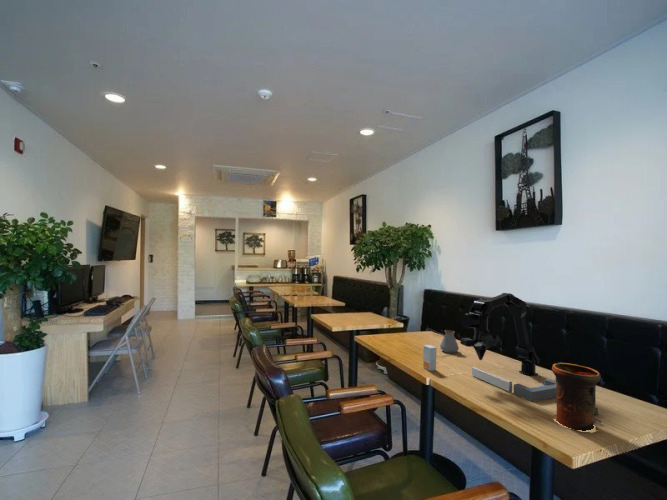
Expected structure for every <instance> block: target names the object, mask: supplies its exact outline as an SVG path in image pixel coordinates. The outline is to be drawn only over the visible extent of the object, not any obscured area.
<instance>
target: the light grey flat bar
mask: <svg viewBox="0 0 667 500" xmlns="http://www.w3.org/2000/svg"><path fill="white" fill-rule="evenodd" d="M471 376H472V377H475V378H477V379H479V380H482V381H484V382H486V383H489V384H491V385H493V386H494V387H495V386H496V387H498V388H499V389H502V390H504V391H506V392H509V393H513V381H509V380H506V379H503V378H501V377H498V376H497V375H494V374H491V373H488V372H486V371H483V370H482V369H479V368H476V367H475V366H472V367H471Z"/></svg>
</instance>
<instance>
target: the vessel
mask: <svg viewBox="0 0 667 500" xmlns="http://www.w3.org/2000/svg"><path fill="white" fill-rule="evenodd" d="M551 371H552V373H553V375H554V377H555V380H554V381H556V384H557V385H556V397H555V400H556V401H555V403H556V414H555V415H554V414H553V416H552V415H550V417H551V419H553V420H554V419H556V421H558V422H559V423H560V424H562V425H563V426H566V427H568V428H571V429H574V430H582V431H586V430H591V429H593V428H594V426H593V425H594V424H595V420H594V418H595V415H594V413H595V407H596V387H597V384H599V382H600V381H601V378H602V377H601V374H600V372H599V371H598V370H596V369H594V368H591V367H587V366H583V365H578V364H575V363H574V364H573V363H567V362H557V363H554V364H552V367H551ZM571 429H570V430H571ZM574 430H573V431H574Z"/></svg>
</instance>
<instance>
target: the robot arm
mask: <svg viewBox="0 0 667 500" xmlns="http://www.w3.org/2000/svg"><path fill="white" fill-rule="evenodd" d="M502 305H505V306H506V308H507V310H508V312H509V313H510V315H511V316H512V317H513V321H514V326H515V332H516V335H517V340H518V341H517V342H518V344H517V346H515V354H516V355H517V359H518V361H521V367H520V370H519V371H518V372H519V373H520V374H523V375H527V376H529V377H531V376H537V375H539V373H538V372H536V365H539V364H540V361H541V359H540V357H539V356H538V355H537V353H536V350H535V347H534V346H533V345H532V343H531V342H530V337H529V333H528V328H527V323H526V322H527V321H526V317H525V316H526V315H527V312H528V311H527V310H528V309H527V308H528V307H527V303H526V302H525V301H523V300H522V299H521V298H519V297H516V296H515V295H514V294H513V293H508V292H502V293H501V294H499V295H495V296H493V297H490V298H487V299H477V300H474V301H473V303H472V305H471V307H470V309H469V310H468V313H464V316H462V317H461V320H460V323H461V326H462V327H463V328H464V329H472V330H473V331H474V336H472V339H471V338H470V337H461V339H460V342H459V343H460V344H461V345H463V346H465V347H472V348H474V350H475V353H476V356H477V358H478V359H479V360H480V361H483V358H484V357H485V355H486V352H487V350H488V349H490V348H492V347H495V346H496V347H498V346H499V347H501V346H502V342H503V341H502V340H501V339H500V336H499V335H498V334H493V335H492V334H490V333H491V332H490V330H489V329H488V328H489V327H488V325H489V319H491V318H492V315H490V313H491V312H492V311H493V309H494V308H497V307H499V306H502Z"/></svg>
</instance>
